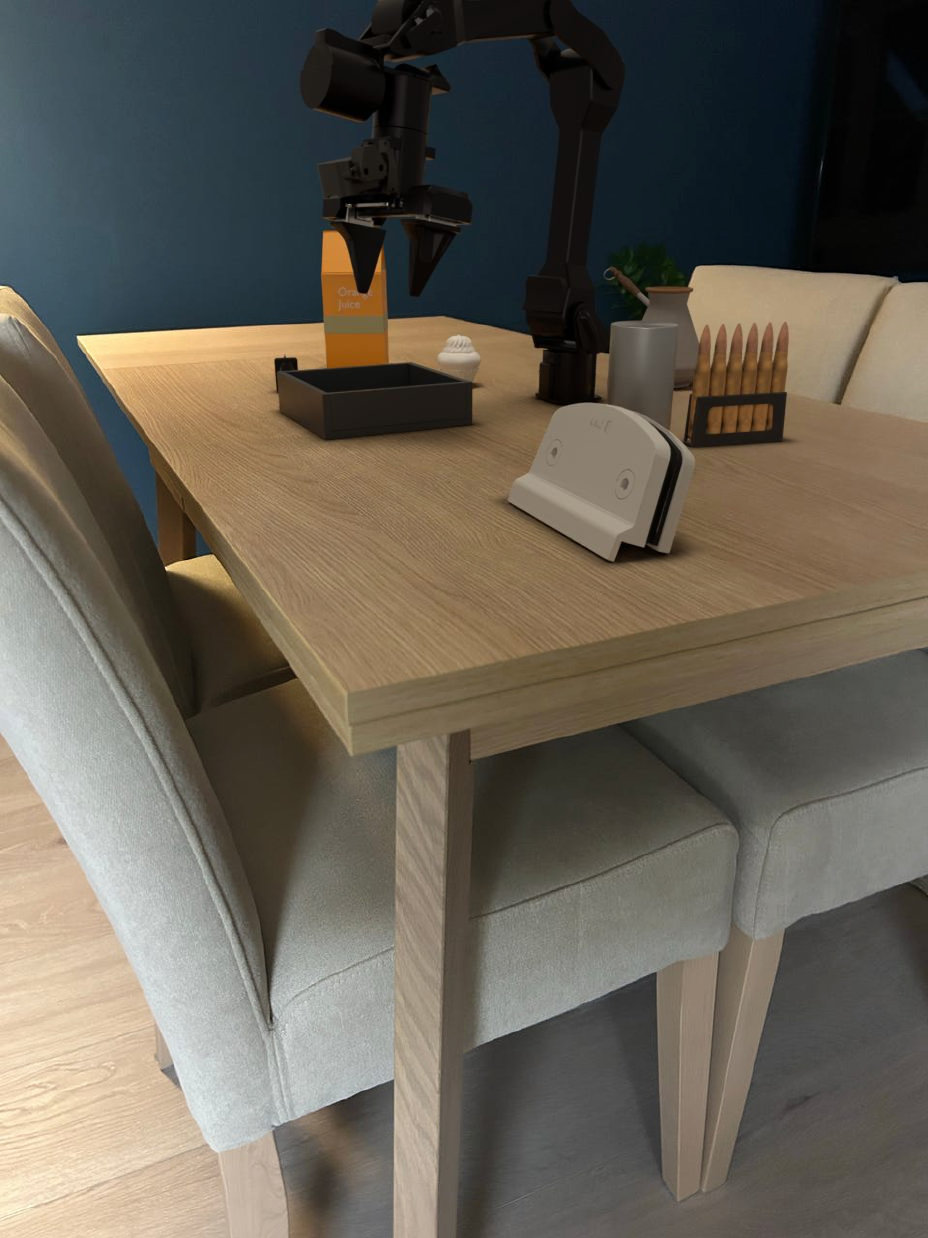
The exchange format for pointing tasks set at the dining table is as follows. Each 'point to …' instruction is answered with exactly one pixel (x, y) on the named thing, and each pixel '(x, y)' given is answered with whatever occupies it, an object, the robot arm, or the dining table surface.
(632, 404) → the metal can
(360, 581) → the dining table surface
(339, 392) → the bin
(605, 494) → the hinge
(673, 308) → the coffee pot
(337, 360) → the orange juice
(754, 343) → the ammunition clip
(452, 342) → the muffin
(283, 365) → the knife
